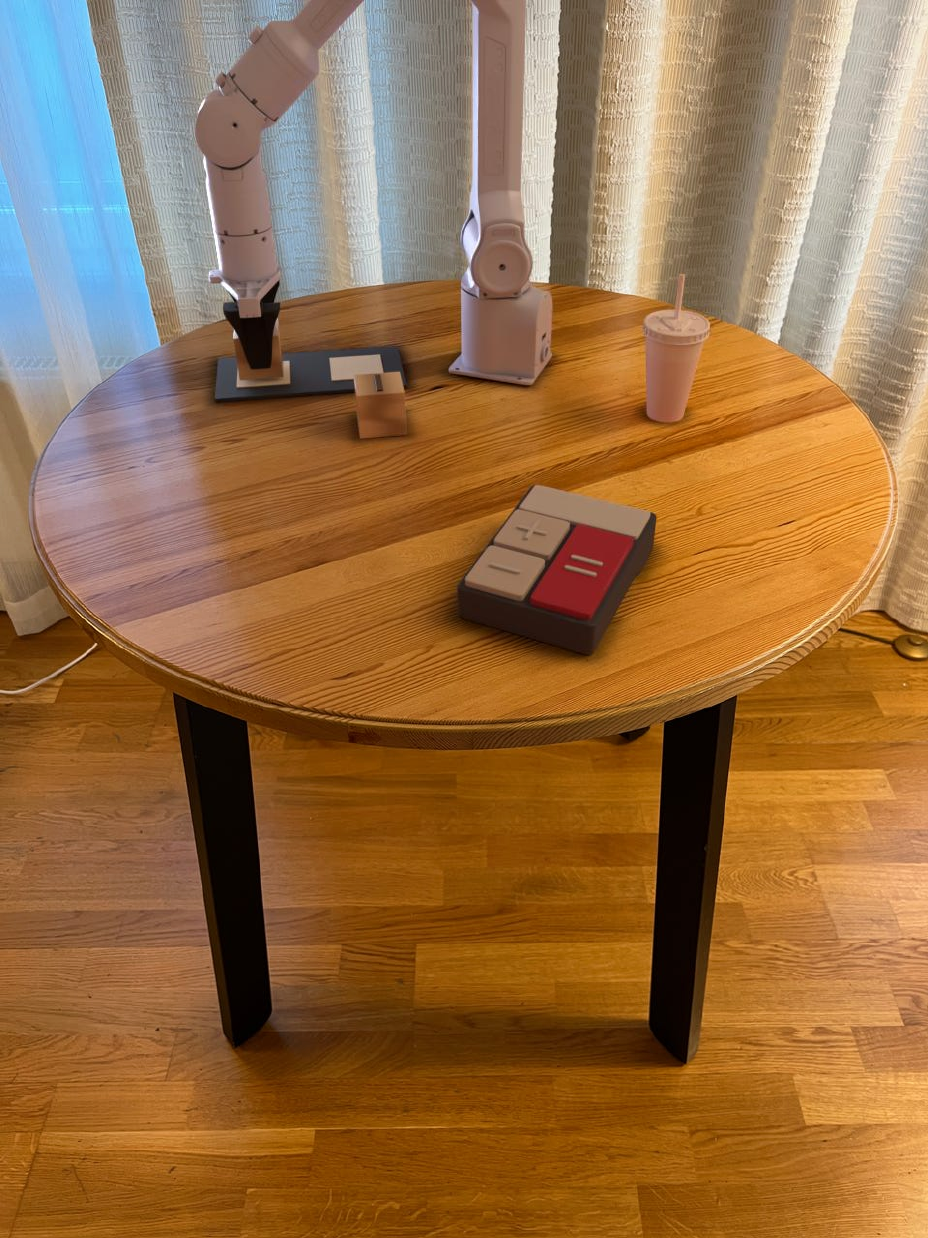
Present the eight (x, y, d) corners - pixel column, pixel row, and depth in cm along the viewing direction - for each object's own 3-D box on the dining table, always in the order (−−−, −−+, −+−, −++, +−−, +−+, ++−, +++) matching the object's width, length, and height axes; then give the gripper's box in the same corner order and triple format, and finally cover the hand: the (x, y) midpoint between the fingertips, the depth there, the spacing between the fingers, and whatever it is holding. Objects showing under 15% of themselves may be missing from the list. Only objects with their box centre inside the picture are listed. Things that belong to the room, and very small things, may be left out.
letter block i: (402, 413, 104) (399, 369, 101) (406, 435, 100) (404, 390, 97) (356, 416, 103) (353, 373, 100) (359, 438, 100) (356, 394, 97)
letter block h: (283, 358, 112) (277, 316, 109) (283, 377, 108) (278, 334, 105) (240, 361, 111) (234, 319, 108) (239, 380, 108) (232, 337, 105)
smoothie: (694, 400, 105) (714, 265, 97) (699, 430, 100) (721, 290, 92) (632, 398, 106) (646, 263, 97) (633, 427, 101) (649, 288, 92)
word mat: (397, 348, 116) (397, 344, 115) (407, 388, 108) (406, 383, 108) (218, 361, 113) (218, 357, 113) (215, 402, 106) (214, 398, 105)
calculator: (454, 579, 75) (532, 475, 85) (456, 623, 78) (531, 517, 88) (594, 619, 72) (659, 505, 82) (591, 663, 74) (654, 548, 84)
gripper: (204, 205, 105) (225, 331, 114) (197, 254, 94) (220, 389, 103) (273, 202, 106) (288, 327, 115) (274, 250, 95) (290, 384, 103)
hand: (260, 356), depth 109 cm, fingers closed on letter block h, 4 cm apart
